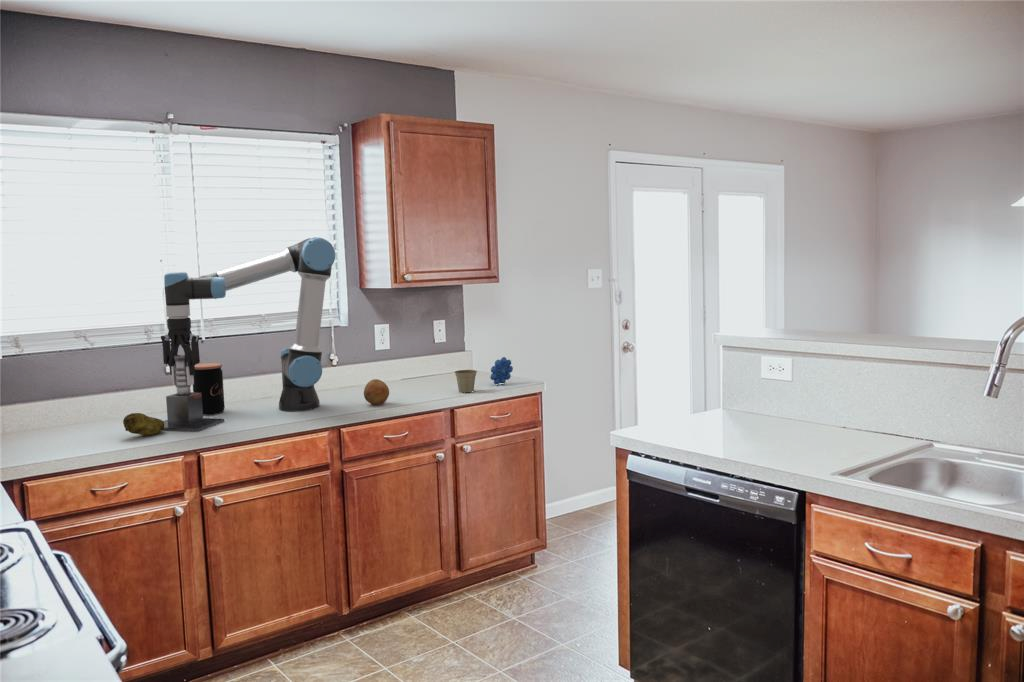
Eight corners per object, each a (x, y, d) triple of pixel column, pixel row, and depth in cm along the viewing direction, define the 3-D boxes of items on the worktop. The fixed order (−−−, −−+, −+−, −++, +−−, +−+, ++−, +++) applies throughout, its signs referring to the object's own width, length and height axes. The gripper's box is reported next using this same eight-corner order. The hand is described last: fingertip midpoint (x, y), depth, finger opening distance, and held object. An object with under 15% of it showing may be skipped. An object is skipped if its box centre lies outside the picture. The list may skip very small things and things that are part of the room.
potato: (168, 434, 268) (167, 411, 267) (126, 440, 260) (124, 416, 259) (163, 430, 274) (161, 407, 273) (121, 436, 267) (119, 412, 266)
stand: (224, 421, 287) (222, 390, 286) (197, 431, 271) (195, 398, 270) (174, 419, 291) (172, 389, 290) (145, 429, 276) (143, 397, 275)
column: (196, 417, 283) (192, 354, 280) (187, 420, 278) (183, 356, 276) (183, 416, 284) (179, 354, 281) (174, 419, 279) (170, 356, 277)
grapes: (507, 381, 360) (506, 355, 359) (516, 383, 354) (515, 356, 353) (485, 384, 353) (484, 357, 352) (494, 386, 348) (493, 359, 346)
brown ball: (395, 403, 314) (394, 378, 313) (377, 408, 306) (376, 382, 305) (376, 401, 319) (375, 376, 318) (358, 405, 311) (357, 380, 310)
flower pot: (475, 394, 331) (474, 373, 330) (452, 393, 333) (452, 373, 332) (479, 390, 340) (479, 369, 339) (457, 389, 342) (457, 369, 341)
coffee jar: (214, 415, 298) (211, 367, 295) (188, 415, 300) (185, 367, 298) (230, 409, 308) (227, 363, 306) (205, 409, 310) (202, 362, 308)
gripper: (208, 316, 279) (212, 383, 281) (162, 316, 283) (167, 382, 285) (195, 318, 271) (200, 386, 274) (148, 318, 275) (153, 385, 278)
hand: (183, 384), depth 280 cm, fingers closed on column, 5 cm apart
